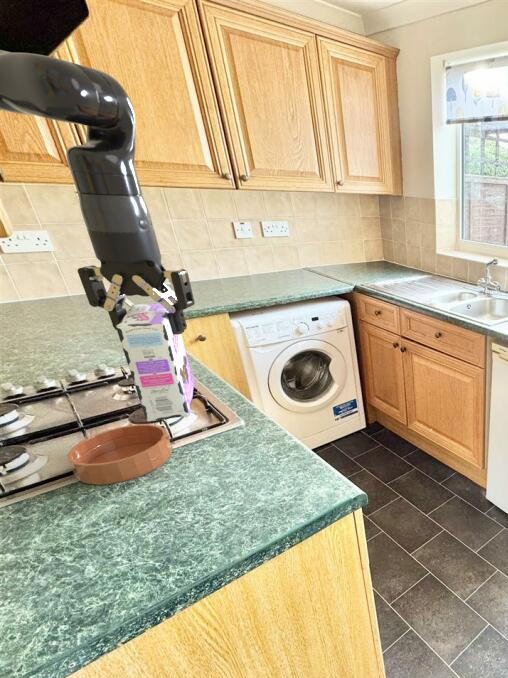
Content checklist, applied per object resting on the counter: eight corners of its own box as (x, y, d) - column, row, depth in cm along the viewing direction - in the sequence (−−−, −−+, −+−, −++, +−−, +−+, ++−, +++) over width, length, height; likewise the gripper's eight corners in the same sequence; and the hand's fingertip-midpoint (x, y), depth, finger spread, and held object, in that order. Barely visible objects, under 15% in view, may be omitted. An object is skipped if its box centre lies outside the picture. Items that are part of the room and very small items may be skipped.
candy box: (190, 416, 70) (164, 322, 64) (145, 423, 68) (112, 325, 61) (196, 384, 81) (173, 300, 74) (157, 389, 78) (130, 302, 71)
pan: (54, 488, 74) (44, 467, 72) (110, 444, 87) (103, 425, 85) (145, 483, 76) (138, 463, 74) (187, 441, 89) (181, 423, 87)
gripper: (188, 228, 67) (211, 327, 74) (84, 222, 64) (118, 324, 71) (160, 232, 60) (188, 341, 67) (43, 226, 58) (85, 339, 64)
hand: (152, 332), depth 69 cm, fingers closed on candy box, 7 cm apart
